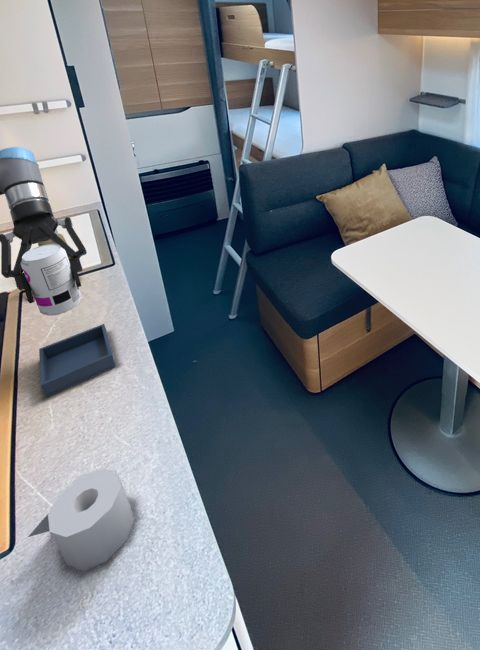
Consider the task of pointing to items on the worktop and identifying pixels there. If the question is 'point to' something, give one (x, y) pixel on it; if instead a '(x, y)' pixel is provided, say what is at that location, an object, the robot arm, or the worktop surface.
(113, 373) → the worktop surface
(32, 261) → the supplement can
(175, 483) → the worktop surface
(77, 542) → the toilet tissue
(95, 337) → the blue open tray
